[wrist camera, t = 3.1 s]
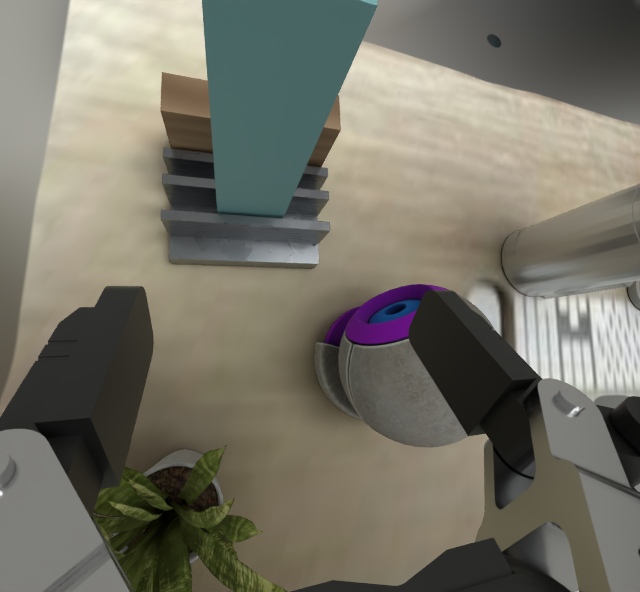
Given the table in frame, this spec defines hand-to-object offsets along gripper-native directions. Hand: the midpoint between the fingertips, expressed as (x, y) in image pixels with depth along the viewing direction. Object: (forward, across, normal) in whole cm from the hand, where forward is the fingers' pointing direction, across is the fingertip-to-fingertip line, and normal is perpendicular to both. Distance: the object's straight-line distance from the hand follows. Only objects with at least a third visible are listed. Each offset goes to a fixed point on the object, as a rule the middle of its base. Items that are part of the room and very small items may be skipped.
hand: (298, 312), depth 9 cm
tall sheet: (+23, 0, +7) cm, 24 cm away
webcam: (+14, -13, +19) cm, 27 cm away
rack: (+26, 0, +6) cm, 27 cm away
